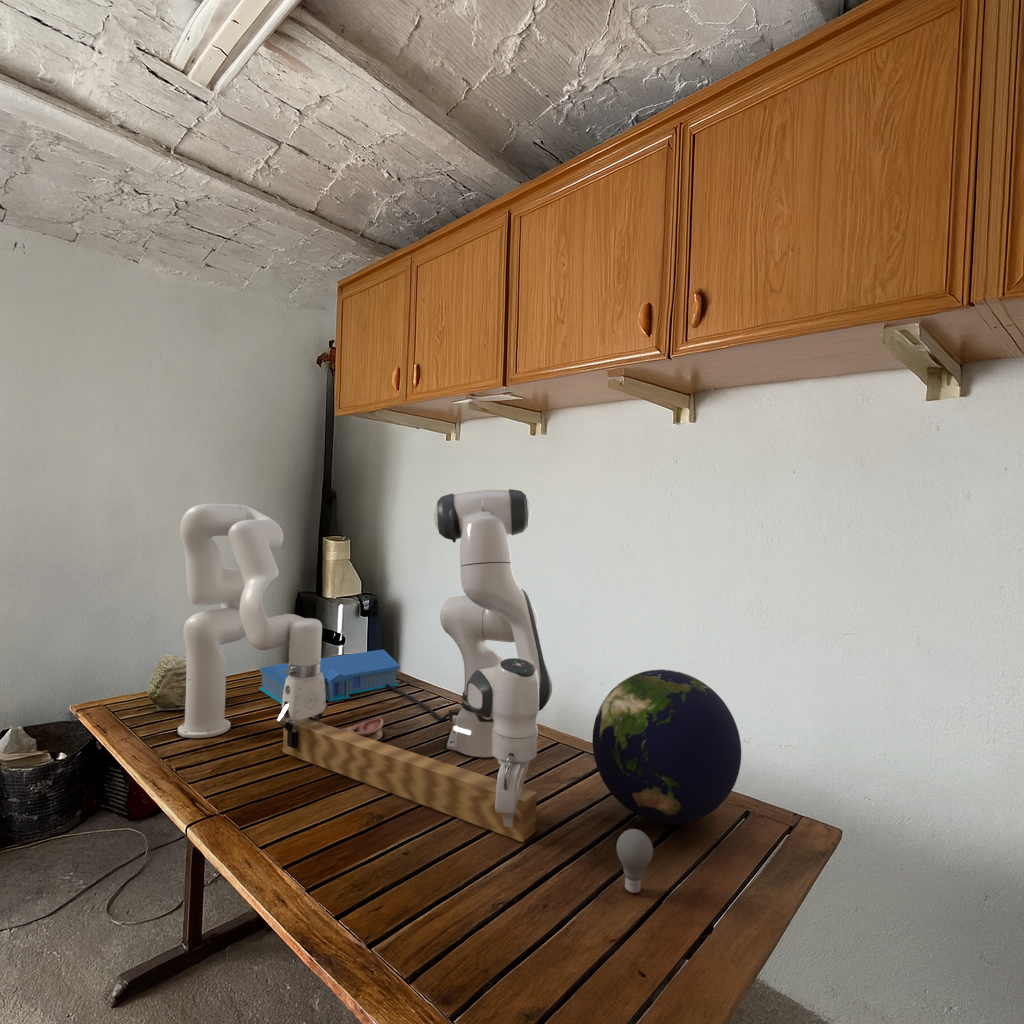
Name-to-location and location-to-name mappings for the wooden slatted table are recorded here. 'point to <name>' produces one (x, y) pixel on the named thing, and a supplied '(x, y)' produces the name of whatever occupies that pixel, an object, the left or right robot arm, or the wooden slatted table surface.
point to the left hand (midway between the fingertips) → (301, 742)
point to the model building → (340, 675)
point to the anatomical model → (368, 729)
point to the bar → (412, 777)
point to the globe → (666, 746)
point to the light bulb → (634, 857)
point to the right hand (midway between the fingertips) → (511, 815)
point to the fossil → (169, 683)
